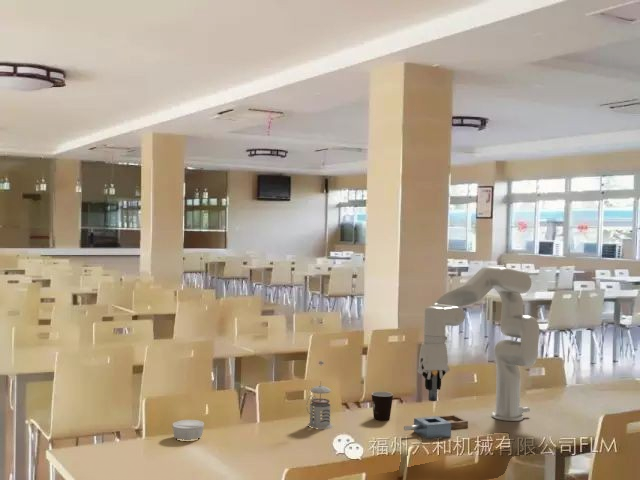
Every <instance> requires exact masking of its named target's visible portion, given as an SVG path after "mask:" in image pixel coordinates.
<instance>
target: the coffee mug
mask: <svg viewBox="0 0 640 480" xmlns="http://www.w3.org/2000/svg"><path fill="white" fill-rule="evenodd" d="M393 397H394V394H393V393H392V392H389V391H374V392H371V402H372V413H373V420H375V421H378V422H388V421H390V419H391V412H392V405H393V399H394V398H393Z"/></svg>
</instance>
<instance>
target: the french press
mask: <svg viewBox="0 0 640 480" xmlns="http://www.w3.org/2000/svg"><path fill="white" fill-rule="evenodd" d="M318 365H324V361H323V360H320V361H318ZM309 391H310V393H312V394H318V395H320V396H319V398H316V395H314V396H313V395H312V394H311V395H309V397H308V398H307V401H306V404H308V403H309V399H310V398H311V399H310V403H309V409H308V408H306V411H307V413H308V415H309V423H308V424H307V425H309V426H311V427H313V428H318V429H317V430H328V428H329V429H332V428H333V424H332V423H331V404H330V402H331V401H330V399H328V398H322V396H321V394H329V393H331V391H332V389H330V388H329V387H327V386H324V385H322V382H320V385H316V386H314V387H312V388H311V389H309Z"/></svg>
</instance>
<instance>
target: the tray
mask: <svg viewBox="0 0 640 480" xmlns="http://www.w3.org/2000/svg"><path fill="white" fill-rule="evenodd" d="M438 417H440V418H442V419H444V420H446V421H448V422H450V423H451V430H453V429H454V428H455V429H464V428H468V427H469V421H468V420H466V419H464V418H463V417H460V416H457V415H455V414H449V415H438Z"/></svg>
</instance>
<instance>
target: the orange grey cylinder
mask: <svg viewBox="0 0 640 480" xmlns="http://www.w3.org/2000/svg"><path fill="white" fill-rule="evenodd" d="M430 379H431V380H432V385H431V390H428V399H427V400H428V401H429V402H437V401H438V389H437V386H438V371H431V377H430Z"/></svg>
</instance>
